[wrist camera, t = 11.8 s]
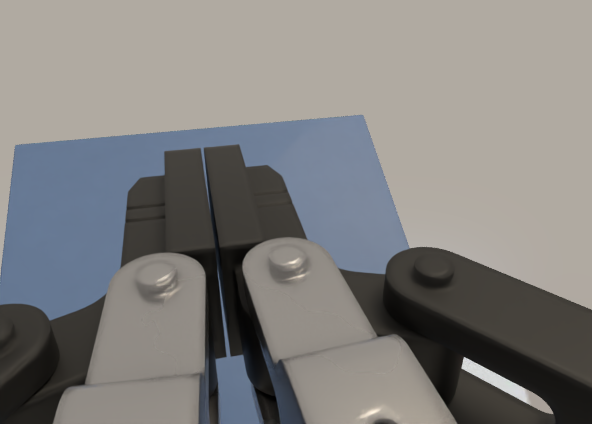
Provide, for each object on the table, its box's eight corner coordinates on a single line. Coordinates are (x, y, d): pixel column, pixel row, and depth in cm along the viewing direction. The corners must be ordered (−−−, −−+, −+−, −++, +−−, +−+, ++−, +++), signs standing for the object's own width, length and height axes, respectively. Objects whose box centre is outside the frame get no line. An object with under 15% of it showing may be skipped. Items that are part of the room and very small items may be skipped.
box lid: (22, 158, 19) (14, 143, 19) (359, 128, 22) (363, 113, 21) (-44, 802, 11) (-62, 817, 10) (533, 642, 13) (549, 646, 12)
